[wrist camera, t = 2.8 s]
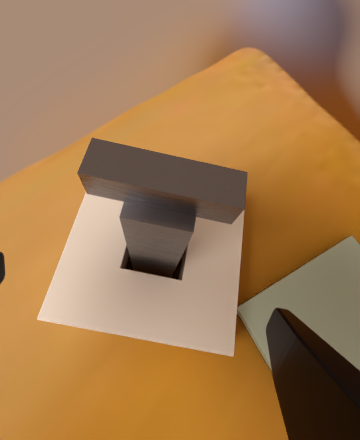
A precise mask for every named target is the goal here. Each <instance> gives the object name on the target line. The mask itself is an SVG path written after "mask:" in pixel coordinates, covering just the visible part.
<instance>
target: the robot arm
mask: <svg viewBox="0 0 360 440" xmlns="http://www.w3.org/2000/svg"><path fill="white" fill-rule="evenodd" d="M4 277H5V263H4V255H3V253H2V252H0V284H1V283H2V281H3V279H4ZM266 337H267V343H268V350H269V356H270V363H271V369H272V375H273V380H274V384H275V389H276V393H277V396H278V400H279V404H280V408H281V412H282V416H283V420H284V423H285V427H286V431H287V435H288V439H289V440H360V370H359V369H357V368H356V367H355V366H354V365H353V364H351V363H350V362H349V361H348V360H347V359H346V358H344V357H343V356H342V355H341V354H340V353H339V352H337V351H336V350H335V349H334V348H333V347H332V346H330V345H329V344H328V343H327V342H326V341H325V340H323V339H322V338H321V337H320V336H319V335H317V334H316V333H315V332H314V331H313V330H312V329H310V328H309V327H308V326H307V325H306V324H305V323H303V322H302V321H301V320H300V319H299V318H298V317H296V316H295V315H294V314H293V313H292V312H291V311H289V310H287V309H283V308H275V309H274V310H273V312H272V315H271V317H270V319H269V321H268V323H267V326H266Z"/></svg>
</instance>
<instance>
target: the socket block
mask: <svg viewBox="0 0 360 440" xmlns="http://www.w3.org/2000/svg"><path fill="white" fill-rule="evenodd" d="M123 203H124V202H123V201H118V200H113V199H109V198H104V197H99V196H95V195H90V194H87V192H86V193H85V196H84V199H83V201H82V204H81V206H80V209H79V211H78V214H77V217H76V219H75V222H74V224H73V227H72V230H71V232H70V235H69V237H68V240H67V243H66V245H65V248H64V250H63V253H62V256H61V258H60V261H59V263H58V266H57V269H56V271H55V274H54V276H53V279H52V282H51V284H50V287H49V289H48V292H47V294H46V297H45V300H44V302H43V305H42V307H41V310H40V313H39V315H38V318H37V320H42V321H47V322H52V323H58V324H63V325H68V326H73V327H79V328H84V329H89V330H95V331H100V332H105V333H110V334H116V335H121V336H126V337H132V338H137V339H142V340H147V341H153V342H158V343H163V344H169V345H174V346H179V347H184V348H190V349H195V350H200V351H205V352H211V353H216V354H221V355H227V356H232V357H234V344H235V330H236V317H237V303H238V290H239V277H240V263H241V250H242V236H243V223H244V210H243V212H242V213H241V214H240V215H239V216H238V217H237V219H236V220H235V221H234V222H233V223H232V225H231V224H227V223H222V222H217V221H212V220H208V219H203V218H198V217H196V221H195V227H194V233H193V235H192V237H191V239H190V241H189V243H188V245H187V247H186V249H185V251H184V253H183V256H182V261H181V267H180V273H179V279H178V280H176V279H171V278H166V277H161V276H157V275H152V274H147V273H142V272H137V271H132V270H127V269H126V267H127V263H128V259H129V256H130V255H129V252H128V248H127V244H126V240H125V237H124V233H123V229H122V226H121V222H120V218H119V216H120V213H121V210H122V206H123Z"/></svg>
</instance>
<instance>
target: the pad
mask: <svg viewBox="0 0 360 440" xmlns="http://www.w3.org/2000/svg"><path fill="white" fill-rule="evenodd" d="M275 308H283V309H287V310H289V311H291V312H292V313H293V314H294V315H295V316H296V317H298V318H299V319H300V320H301V321H302V322H303V323H305V324H306V325H307V326H308V327H309V328H310V329H312V330H313V331H314V332H315V333H316V334H317V335H319V336H320V337H321V338H322V339H323V340H325V341H326V342H327V343H328V344H329V345H330V346H332V347H333V348H334V349H335V350H336V351H337V352H339V353H340V354H341V355H342V356H343V357H344V358H346V359H347V360H348V361H349V362H350V363H351V364H353V365H354V366H355V367H356V368H357V369H359V370H360V244H359V243H358V242H357V241H356V239H355V238H354V237H353V236H352V235H351V236H349V237H347V238H345V239H344V240H342V241H341V242H339V243H337V244H336V245H334V246H333V247H331V248H330V249H328V250H326V251H325V252H323V253H322V254H320V255H318V256H317V257H315V258H314V259H312V260H311V261H309V262H307V263H306V264H304V265H303V266H301V267H299V268H298V269H296V270H295V271H293V272H292V273H290V274H288V275H287V276H285V277H284V278H282V279H281V280H279V281H277V282H276V283H274V284H273V285H271V286H269V287H268V288H266V289H265V290H263V291H262V292H260V293H258V294H257V295H255V296H254V297H252V298H250V299H249V300H247V301H246V302H244V303H243V304H241V305H239V306H238V307H237V313H238V315H239V317H240V318H241V320H242V322H243V324H244V325H245V327H246V329H247V330H248V332H249V334H250V336H251V337H252V339H253V341H254V342H255V344H256V346H257V347H258V349H259V351H260V353H261V354H262V356H263V358H264V359H265V361H266V363H267V365H268V366H269V368H270V370H271V371H272V369H271V363H270V356H269V350H268V343H267V337H266V326H267V323H268V321H269V319H270V317H271V315H272V312H273V310H274V309H275Z"/></svg>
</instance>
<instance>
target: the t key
mask: <svg viewBox="0 0 360 440" xmlns="http://www.w3.org/2000/svg"><path fill="white" fill-rule="evenodd" d="M78 175H79V177H80V180H81V182H82V184H83V186H84V188H85V190H86V192H87V194H90V195H95V196H99V197H104V198H109V199H113V200H118V201H123V202H124V203H123V206H122V210H121V213H120V216H119V218H120V222H121V226H122V229H123V233H124V237H125V240H126V244H127V248H128V252H129V255H130V259H131V263H132V266H133V270H134V271H139V272H144V273H149V274H154V275H159V276H164V277H169V278H171V277H172V275H173V273H174V271H175V269H176V267H177V265H178V263H179V261H180V259H181V257H182V255H183V253H184V251H185V249H186V247H187V245H188V243H189V241H190V239H191V237H192V235H193V233H194V227H195V221H196V217H198V218H203V219H208V220H212V221H217V222H222V223H227V224H231V225H232V223H233V222H234V221H235V220H236V219H237V217H238V216H239V215H240V214H241V213H242V212H243V210H244V209H245V197H246V184H247V172H244V171H240V170H235V169H231V168H226V167H222V166H217V165H213V164H208V163H204V162H199V161H194V160H190V159H185V158H181V157H176V156H172V155H167V154H163V153H158V152H154V151H149V150H145V149H140V148H136V147H131V146H127V145H122V144H118V143H113V142H109V141H104V140H100V139H95V138H92V139H91V142H90V144H89V146H88V149H87V151H86V154H85V156H84V158H83V161H82V163H81V166H80V168H79V170H78Z"/></svg>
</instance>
